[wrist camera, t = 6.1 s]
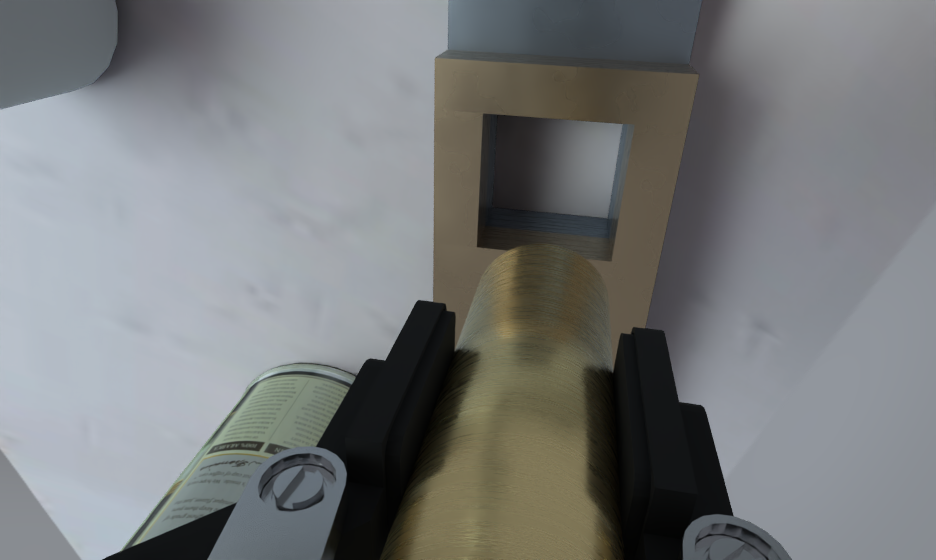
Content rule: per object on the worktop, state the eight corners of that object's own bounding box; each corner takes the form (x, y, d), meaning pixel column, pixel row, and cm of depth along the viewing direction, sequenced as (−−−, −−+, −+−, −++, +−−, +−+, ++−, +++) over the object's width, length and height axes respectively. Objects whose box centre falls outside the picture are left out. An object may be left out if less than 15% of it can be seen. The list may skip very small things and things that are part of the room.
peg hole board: (468, -326, 17) (431, -413, 13) (756, -334, 16) (813, -432, 12) (449, 412, 31) (429, 480, 27) (605, 435, 29) (608, 510, 25)
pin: (458, 214, 14) (224, 646, 5) (645, 233, 13) (761, 765, 4) (454, 363, 16) (281, 860, 7) (616, 385, 15) (654, 964, 6)
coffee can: (429, 505, 34) (342, 806, 22) (269, 496, 36) (109, 766, 24) (397, 360, 30) (264, 640, 17) (216, 360, 32) (-16, 609, 20)
